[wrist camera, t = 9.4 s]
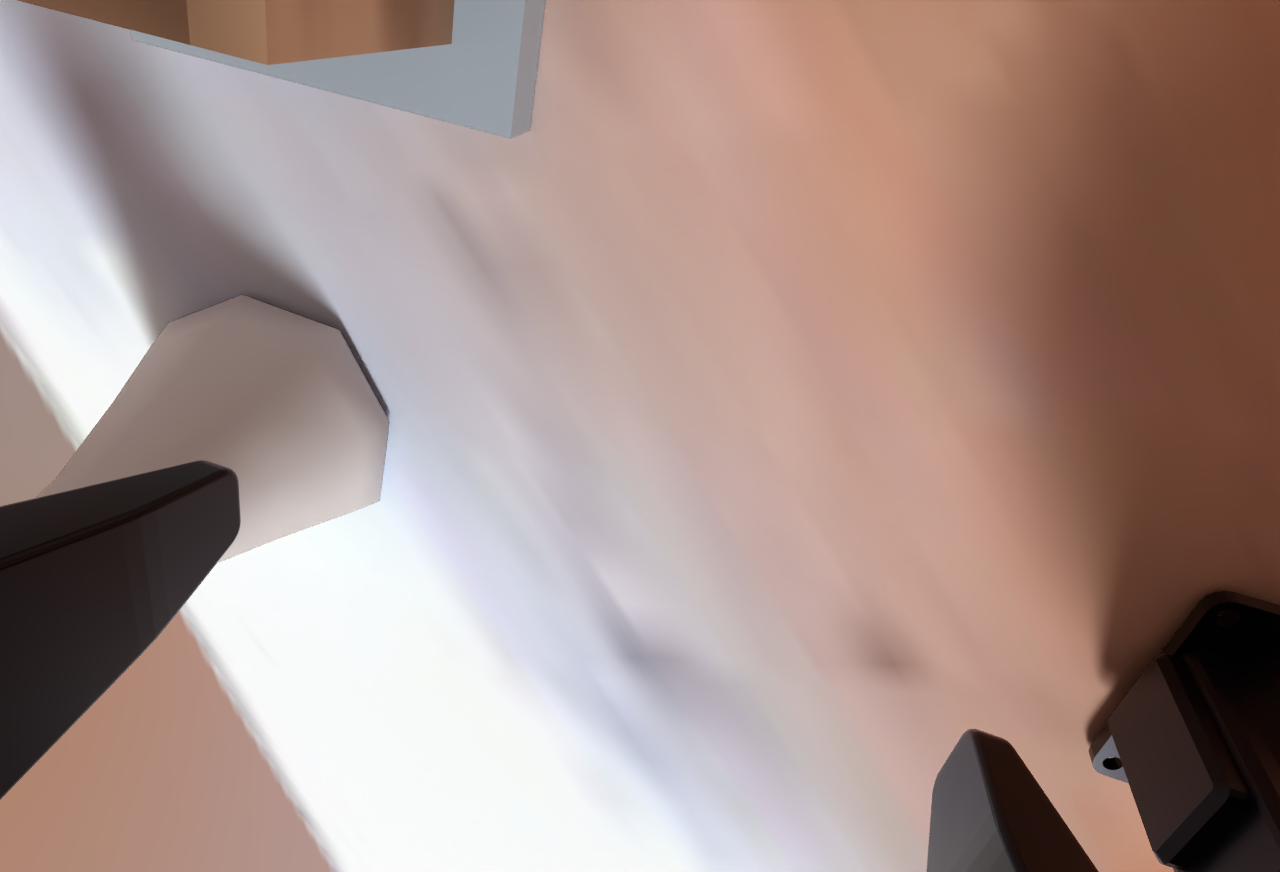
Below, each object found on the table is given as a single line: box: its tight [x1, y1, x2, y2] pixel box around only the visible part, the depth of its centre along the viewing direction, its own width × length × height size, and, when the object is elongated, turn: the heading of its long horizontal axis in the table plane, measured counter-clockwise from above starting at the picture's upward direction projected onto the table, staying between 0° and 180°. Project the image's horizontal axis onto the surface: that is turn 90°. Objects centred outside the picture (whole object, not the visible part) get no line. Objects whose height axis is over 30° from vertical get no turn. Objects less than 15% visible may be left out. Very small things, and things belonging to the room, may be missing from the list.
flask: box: [35, 295, 390, 563], centre depth 19 cm, size 7×7×10 cm
